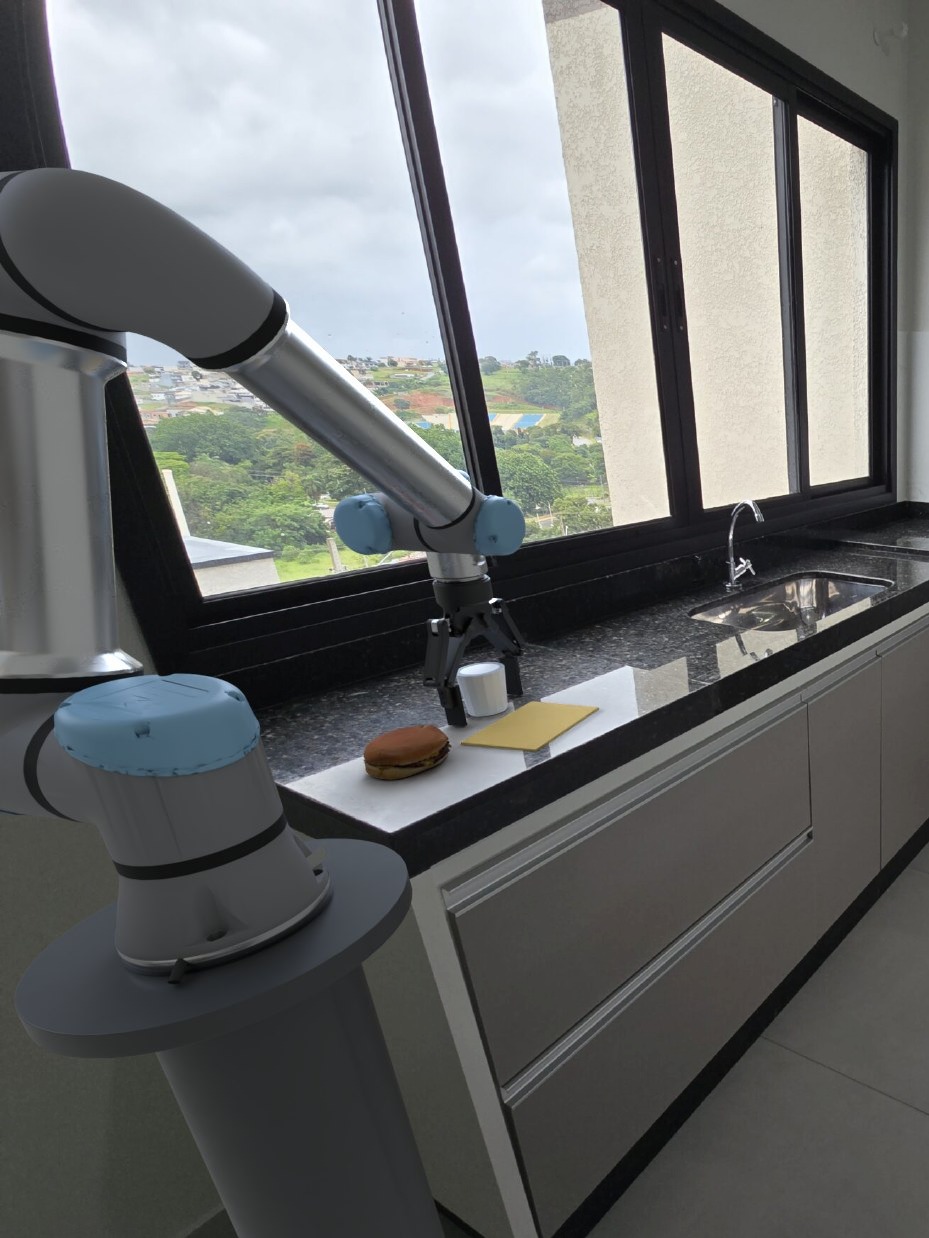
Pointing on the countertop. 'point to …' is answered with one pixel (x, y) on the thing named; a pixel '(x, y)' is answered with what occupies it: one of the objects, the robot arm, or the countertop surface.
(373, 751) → the burger
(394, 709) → the countertop surface
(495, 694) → the shot glass
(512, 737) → the cloth
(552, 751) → the countertop surface
